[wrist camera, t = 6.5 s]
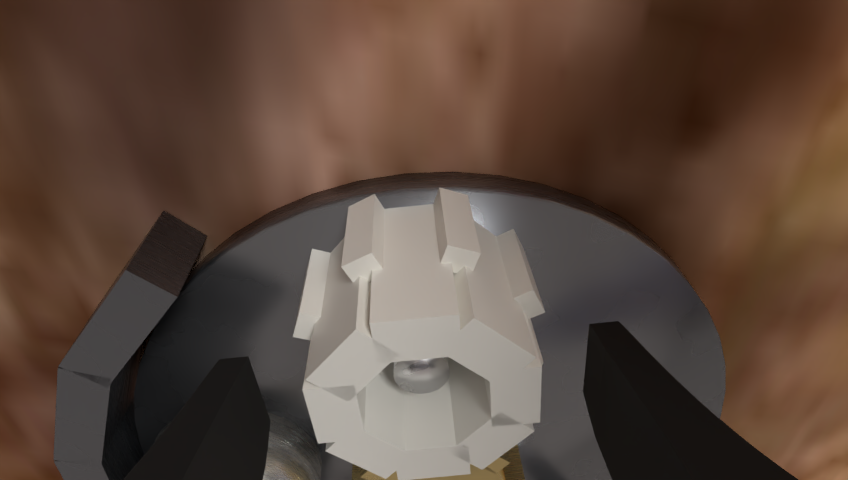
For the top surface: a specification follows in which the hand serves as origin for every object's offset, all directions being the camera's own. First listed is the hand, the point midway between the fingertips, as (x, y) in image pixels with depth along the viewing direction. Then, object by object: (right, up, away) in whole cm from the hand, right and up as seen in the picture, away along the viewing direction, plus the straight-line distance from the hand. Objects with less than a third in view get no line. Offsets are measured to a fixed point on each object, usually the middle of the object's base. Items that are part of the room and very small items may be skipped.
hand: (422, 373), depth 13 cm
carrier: (-1, -3, +7) cm, 8 cm away
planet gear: (0, +2, +2) cm, 3 cm away
